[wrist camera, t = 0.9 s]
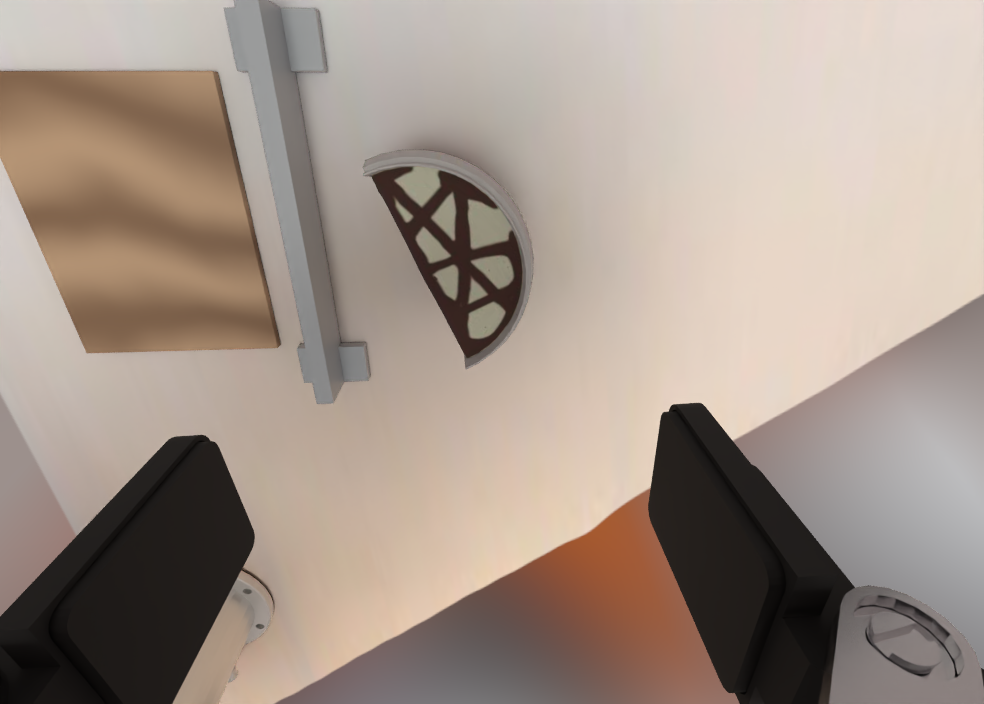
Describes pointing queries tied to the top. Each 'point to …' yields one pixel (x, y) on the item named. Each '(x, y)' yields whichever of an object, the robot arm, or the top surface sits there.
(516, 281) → the food container
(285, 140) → the grey footed rail
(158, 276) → the walnut board
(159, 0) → the top surface
